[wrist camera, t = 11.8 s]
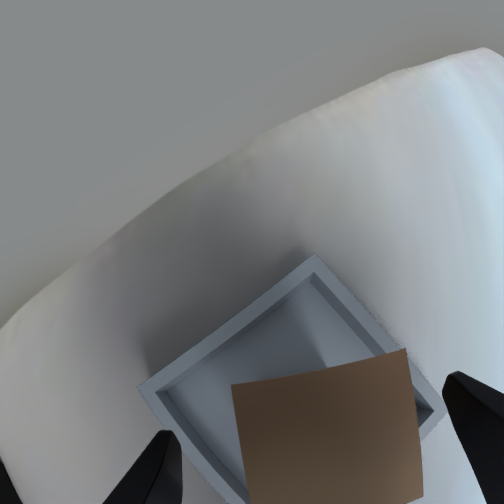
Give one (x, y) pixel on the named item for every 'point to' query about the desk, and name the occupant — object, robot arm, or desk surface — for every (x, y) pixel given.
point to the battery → (6, 489)
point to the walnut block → (332, 435)
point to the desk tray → (269, 367)
